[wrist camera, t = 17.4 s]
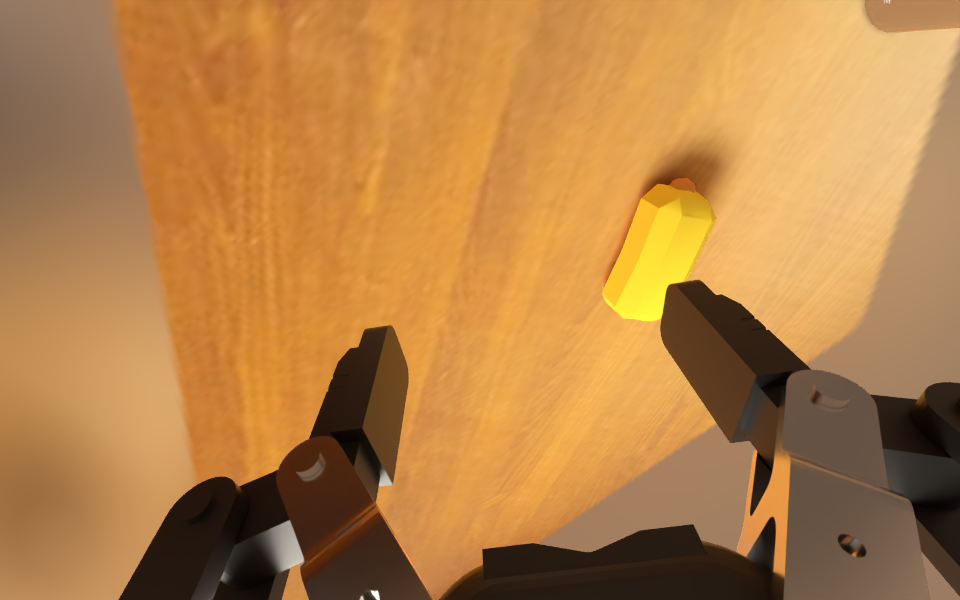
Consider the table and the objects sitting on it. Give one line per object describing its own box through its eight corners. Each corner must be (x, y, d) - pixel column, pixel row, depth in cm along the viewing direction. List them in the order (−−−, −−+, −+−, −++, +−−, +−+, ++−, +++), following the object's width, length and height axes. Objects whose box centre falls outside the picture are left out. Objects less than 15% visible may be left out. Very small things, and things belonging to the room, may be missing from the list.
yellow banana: (589, 305, 49) (642, 312, 51) (607, 336, 44) (666, 343, 45) (645, 166, 40) (709, 179, 41) (678, 183, 34) (750, 197, 36)
